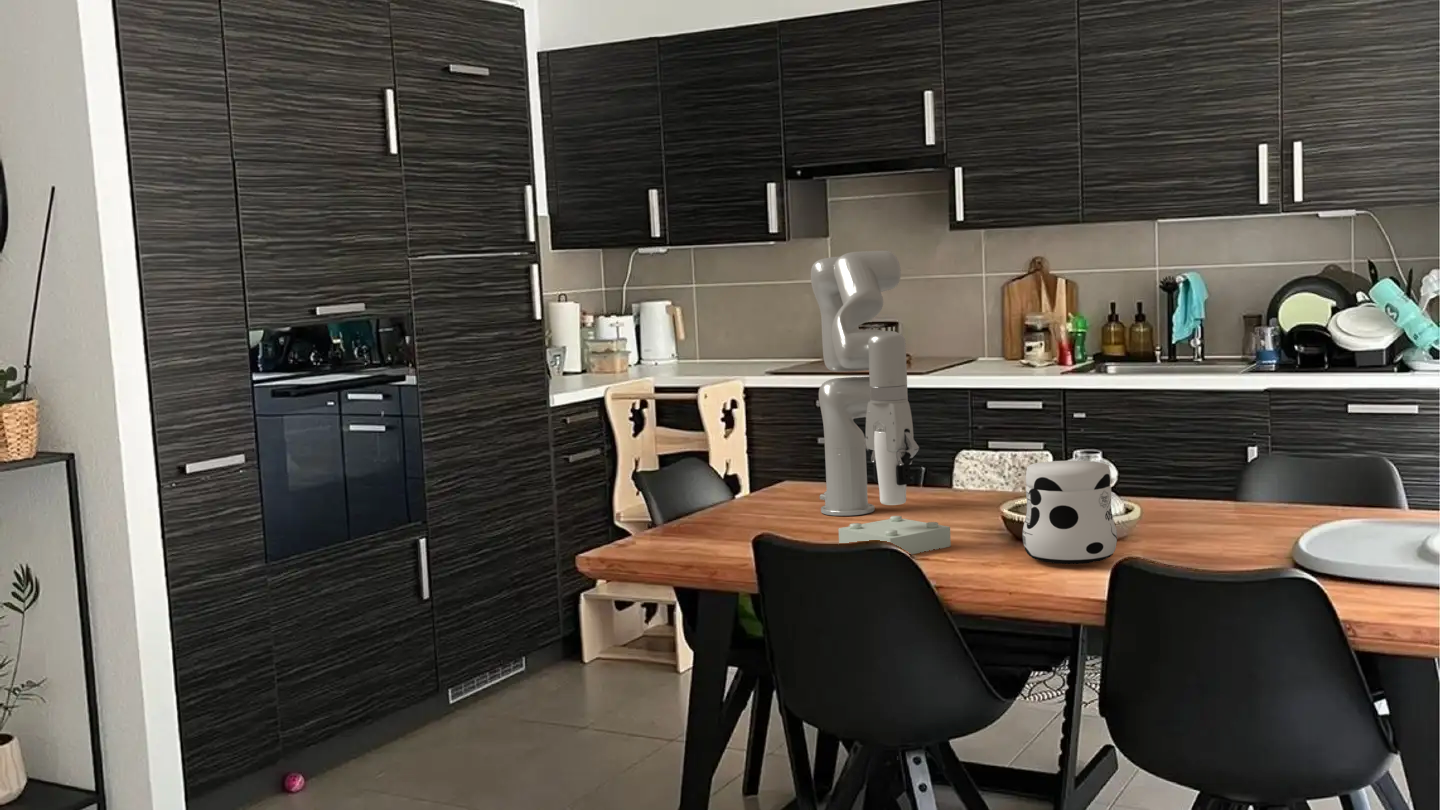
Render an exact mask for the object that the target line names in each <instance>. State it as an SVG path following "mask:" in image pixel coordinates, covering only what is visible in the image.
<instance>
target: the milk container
mask: <svg viewBox="0 0 1440 810" xmlns="http://www.w3.org/2000/svg"><path fill="white" fill-rule="evenodd" d="M1025 472H1026V473H1025V485H1026V487H1025V497H1026V498H1025V499H1026V515H1025V520H1024V523H1023V527H1022V543H1023V546H1024V551H1025V552H1026V554H1027V555H1028V556H1029V557H1030V558H1032V559H1033V560H1036V561H1039V562H1042V563H1047V564H1048V563H1049V564H1055V565H1084V564H1093V563H1098V562H1101V561H1105V560H1106V559H1110V558H1111V557H1112V556H1113V555H1114V553H1115V551H1116V547H1117V542H1118V529H1117V527H1116V524H1115V520H1114V516H1113V512H1112V511H1113V510H1112V485H1111V482H1112V477H1111V476H1112V475H1111V468H1110V465H1109V464H1107V463H1104V462H1100V461H1099V462H1098V461H1090V460H1053V461H1051V460H1050V461H1044V462H1036V463H1032V464H1029V465H1027V467H1026V471H1025Z"/></svg>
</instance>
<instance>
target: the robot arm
mask: <svg viewBox="0 0 1440 810" xmlns="http://www.w3.org/2000/svg"><path fill="white" fill-rule="evenodd" d="M901 272H902V270H901V265H900V261H899V259H898V257H897V256H896V254H895V253H893V252H892V251H890V250H871V251H869V250H867V251H866V250H864V251H851V252H847V253H844V254H842V255H841V256H830V257H824V258H820V259H818V260H816V261H815V262H814V263H813V264H812V266H811V269H810V283H811V288H812V292H813V294H814V298H815V300H816V303H817V305H818V308H819V312H820V317H821V318H820V319H821V320H820V322H821V340H822V344H821V345H822V354H823V355H822V356H823V362H824V365H825V367H826V369H828V370H829V371H831V372H836V373H838V372H839V373H842V372H843V373H844V372H845V373H846V372H863V371H865V372H866V371H868V373H869V376H849V377H848V376H847V377H836V378H830V379H828V380H826V381H824V382H823V383H822V384H821V385H820V386H819V389H818V401H819V407H820V411H821V412H820V413H821V418H822V424H823V436H824V437H823V439H824V458H825V459H824V460H825V461H824V462H825V481H826V482H825V485H826V490H825V491H824V493H821V494H820V495H819V500H823V501H824V505H822V506H821V507H820V513H822V514H823V515H828V516H836V517H837V516H838V517H839V516H840V517H844V516H846V517H847V516H859V515H860V516H862V515H866V514H870V513H873V512H875V505H874V504H872V503H869V501H868V476H867V453H868V455H869V456H870V461H871V462H872V463H873V481H874V482H875V483H878V475H877V467H876V459H875V450H874V449H875V448H874V432H875V431H877V432H886V445H887V451H889V452H896V458H897V461H898V464H899V465H897V466H896V478H897V485H905V484H906V485H909V484H911V465H912V463H913V460H914V458H915V457H916V454H917V453H918V452H919V451H920V446H919V445H918V444H917V442H916V441H915V439H914V426H913V425H914V424H913V417H912V410H911V405H910V402H909V401H908V399H909V397H908V375H907V374H908V372H907V370H908V369H907V346H906V345H907V344H906V338H905V336H904V335H903V334H901V333H899V332H898V331H893V330H881V329H873V328H872V329H860V327H859V326H861V325H863V324H865V323H867V322H869V321H870V320H873V319H874V318H876V317H877V316H878V315H879V314H880V312H881V311H882V309H883V307H884V298H883V295H882V292H887V291H891V290H893V289H895V288H896V287H897V286H898V285H899V284H900V282H901V281H900V280H901V274H902V273H901ZM859 418H860V419H861V418H865V434H864V431H863V430H862V429H861V428H860V427H859V426H858V425H857V423H855V421H854V419H859ZM904 441H905V442H906V444H905V449H901V448H902V446H903V443H904ZM907 445H908V446H907ZM899 449H900V450H899ZM866 451H867V452H866ZM903 452H905V455H904V456H903V458H902V455H901V453H903Z"/></svg>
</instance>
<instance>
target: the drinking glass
mask: <svg viewBox="0 0 1440 810" xmlns="http://www.w3.org/2000/svg"><path fill="white" fill-rule="evenodd" d="M905 444H906V442H905V441H904V443H903V446H902V448H901V449H905ZM907 446H908V445H907ZM874 448H875V449H874V450H875V459H876V467H877V475H878V482H877V483H878V490H879V502H880V503H881V504H882V505H885V506H897V505H903V504H905V503H906V501H907V484H905V485H897V478H896V466H897V465H899V464H898V461H897V458H896V452H889V451H887V445H886V432H877V431H875V432H874ZM899 450H900V449H899ZM901 455H902V458H903V456H904V455H905V452H903V453H901Z"/></svg>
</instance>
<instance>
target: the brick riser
mask: <svg viewBox="0 0 1440 810" xmlns="http://www.w3.org/2000/svg"><path fill="white" fill-rule="evenodd" d="M869 540H880V541H887V542H891V543H893V544H895V545H897V546H899V547H901V548H902V549H904V550H906V551H908V552H909V553H911V555H915V554H919V553H920V552H921V553H925V552H924V551H926V552H929V550H930V551H934V550H933V549H935V550H939V548H940V549H944V548H949V547H952V546H951V544H952V543H951V540H952V539H951V526H948V525H942V524H939V522H936V521H929V522H925V521H924V522H923V521H918V520H913V519H907V518H902V516H901V515H891V516H890V517H889V518H888V519H882V520H877V521H871V522H866V523H858V522H857V523H849V525H848V526H843V527H839V528H838V544H839V543H849V542H857V541H869Z"/></svg>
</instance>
